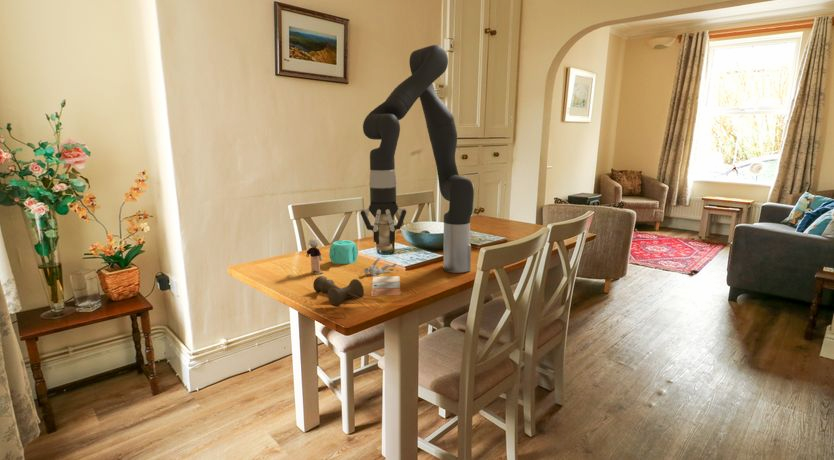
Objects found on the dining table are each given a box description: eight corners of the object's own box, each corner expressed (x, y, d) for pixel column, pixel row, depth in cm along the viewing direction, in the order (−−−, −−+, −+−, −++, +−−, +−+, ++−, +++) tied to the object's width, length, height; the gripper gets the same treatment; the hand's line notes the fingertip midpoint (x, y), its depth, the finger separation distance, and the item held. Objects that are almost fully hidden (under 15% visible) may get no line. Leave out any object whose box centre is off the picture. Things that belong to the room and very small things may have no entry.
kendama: (332, 288, 143) (373, 302, 130) (306, 297, 137) (346, 313, 123) (331, 270, 142) (371, 283, 128) (304, 278, 136) (344, 292, 122)
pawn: (391, 246, 135) (391, 210, 132) (392, 250, 130) (391, 213, 128) (377, 247, 134) (376, 210, 132) (376, 251, 130) (375, 213, 128)
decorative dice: (348, 266, 164) (347, 245, 162) (329, 265, 166) (328, 244, 164) (358, 260, 171) (357, 240, 169) (340, 259, 174) (338, 239, 172)
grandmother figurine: (327, 272, 158) (325, 237, 155) (321, 275, 154) (319, 240, 151) (310, 269, 161) (308, 235, 158) (303, 272, 157) (300, 238, 154)
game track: (401, 278, 150) (401, 275, 150) (402, 297, 133) (402, 294, 133) (371, 279, 150) (371, 276, 150) (369, 298, 132) (368, 295, 132)
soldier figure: (401, 278, 154) (374, 275, 146) (392, 285, 157) (365, 282, 148) (395, 259, 158) (368, 255, 150) (386, 266, 160) (360, 262, 152)
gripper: (406, 183, 132) (407, 239, 136) (359, 184, 131) (361, 240, 135) (407, 186, 125) (408, 246, 129) (357, 187, 124) (359, 247, 128)
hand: (384, 243), depth 132 cm, fingers closed on pawn, 3 cm apart
